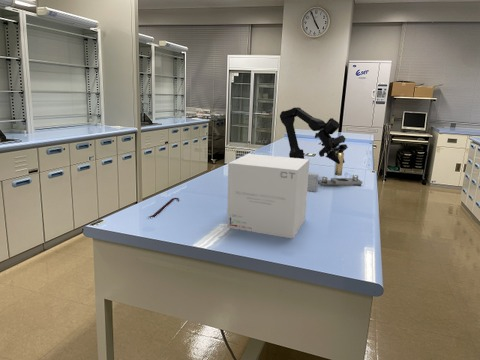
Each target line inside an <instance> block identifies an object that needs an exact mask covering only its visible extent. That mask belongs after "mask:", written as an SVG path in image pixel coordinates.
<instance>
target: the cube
mask: <svg viewBox="0 0 480 360" xmlns="http://www.w3.org/2000/svg"><path fill="white" fill-rule="evenodd" d="M227 167H228V168H227V209H226V212H227V213H226V215H227V217H226V218H227V221H226V228H229V229H235V230H239V229H240V231H245V230H247V232H251V231H252V232H251V233H258V234H264V235H271V236H276V237H281V238H282V237H283V238H287V239H294V238H295V236H296V234H297V233H298V231H299V230H300V228H301V227H302V225H303V223H304V222H305V220H306V215H307V214H306V213H307V212H306V211H307V198H308V197H307V196H308V191H307V187H308V174H309V173H310V172H309V169H310V159H308V158H304V159H300V158H290V157H289V156H288V157H287V156H276V155H266V154H255V153H247V154H245V155H243V156H241V157H238V158H236V159H234V160H232V161H230V162H228V164H227Z"/></svg>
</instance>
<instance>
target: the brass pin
mask: <svg viewBox="0 0 480 360" xmlns="http://www.w3.org/2000/svg"><path fill="white" fill-rule="evenodd" d="M337 157H338V159H339V161H340V164H337V163H336V162H335V168H334V169H335V170H334V175H335V176H341V177H342V176H343V174H342V173H343V167H344V166H343V165H344V163H343V158H344V157H345V152H344V151H343V152H337ZM344 159H345V158H344Z"/></svg>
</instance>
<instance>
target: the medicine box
mask: <svg viewBox="0 0 480 360" xmlns="http://www.w3.org/2000/svg"><path fill="white" fill-rule="evenodd" d="M318 180H319V173H312V172H309V174H308V187H307V192H315V193H317V191H318V185H319V184H318Z"/></svg>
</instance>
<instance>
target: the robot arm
mask: <svg viewBox="0 0 480 360" xmlns="http://www.w3.org/2000/svg"><path fill="white" fill-rule="evenodd" d="M279 118H280V121H281V123H282V125H283V126H284V127H285V131H286V135H287V140H288V144H289V148H290V151H289V154H288V157H289V158H300V159H305V153H304V149H301V148H300V147H299V143H298V139H297V134H296V130H295V126H294V124H295V121H296V120H295V119H296V118H299V119H301V120H302V121H303V122H305V123H306V124H307V126H308V127H309V128H310V130H312V131H313V132H315V135H314V139H319V140H320V142H321V146H322V148H321V149H320V150H319V151H318V155H319V157H320V158H322V157H325V158H326V159H327V158H328V159H329V160H331V161H332V162H334V163H335V164H336V163H337V164H340V161H339V159H338V157H337V152H343V153H344V151H345V150H347V149H348V148H349V147H348V145H347V144H343V143H345V141H346V139H347V138H346V137H345V136H344V135H343V134H342V135H340V136H336V137H332V135H334V133H335V132H336V131H337V130H339V129H340V127H341V125H340V122H338V121H337V120H336V119H334V117H331V118H329V119H328V120H327V122H325V121H324V120H322V119H320V118H316V117H315V116H312V115H311V114H309V113H307V112H306V111H304V110H303V109H302V108H301V107H299V106H298V107H293V108H290V109H287V110H282V111H281V112H280V114H279ZM325 154H326V155H325ZM345 162H346V161H345V158H343V164H344V163H345Z"/></svg>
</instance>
